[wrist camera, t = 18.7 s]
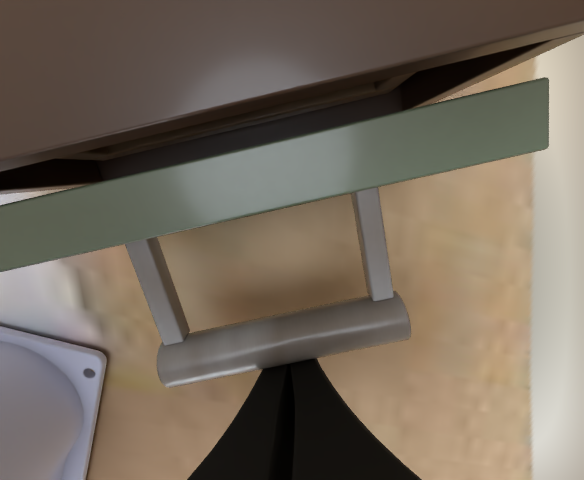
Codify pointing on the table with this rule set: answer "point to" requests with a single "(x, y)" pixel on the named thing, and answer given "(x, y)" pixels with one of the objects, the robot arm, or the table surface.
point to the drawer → (268, 197)
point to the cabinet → (234, 70)
